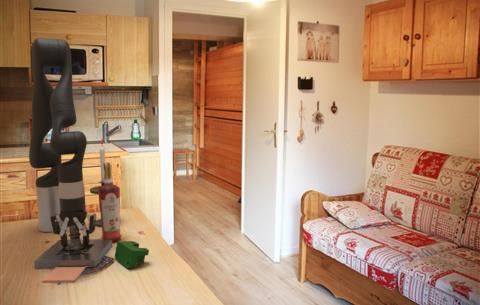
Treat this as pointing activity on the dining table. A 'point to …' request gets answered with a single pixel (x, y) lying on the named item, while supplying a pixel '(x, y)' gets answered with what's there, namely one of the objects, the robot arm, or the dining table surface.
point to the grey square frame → (59, 259)
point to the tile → (64, 274)
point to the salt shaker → (75, 242)
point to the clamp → (130, 253)
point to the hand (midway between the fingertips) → (75, 246)
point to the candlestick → (95, 189)
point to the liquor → (109, 206)
